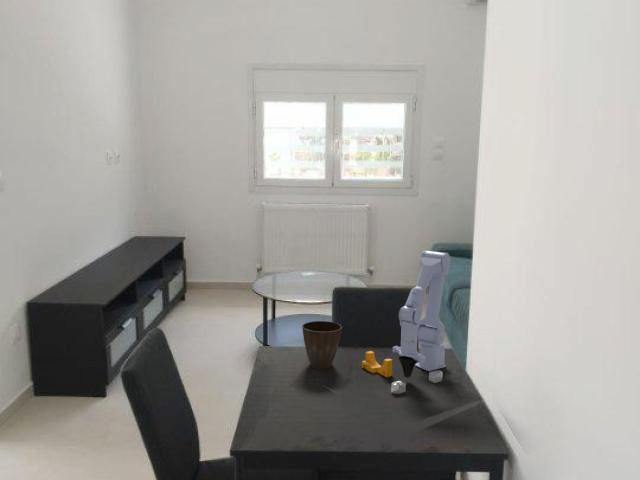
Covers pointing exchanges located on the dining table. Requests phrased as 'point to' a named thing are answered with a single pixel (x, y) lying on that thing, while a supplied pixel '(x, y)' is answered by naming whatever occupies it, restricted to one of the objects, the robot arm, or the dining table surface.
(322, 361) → the plant pot
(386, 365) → the pipe clamp
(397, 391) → the chain ends
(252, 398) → the dining table surface
